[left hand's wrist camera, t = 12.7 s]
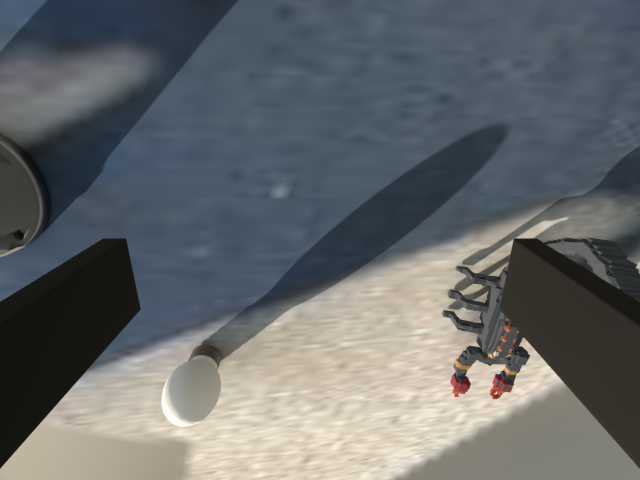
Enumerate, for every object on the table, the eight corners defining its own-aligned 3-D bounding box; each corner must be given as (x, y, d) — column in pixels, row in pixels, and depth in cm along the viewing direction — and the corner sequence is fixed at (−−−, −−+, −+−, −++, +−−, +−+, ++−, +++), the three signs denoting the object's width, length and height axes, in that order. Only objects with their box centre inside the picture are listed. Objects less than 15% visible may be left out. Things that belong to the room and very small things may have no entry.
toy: (583, 213, 43) (756, 283, 26) (511, 384, 53) (604, 519, 35) (477, 198, 43) (583, 260, 25) (423, 374, 52) (474, 507, 35)
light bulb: (175, 359, 51) (139, 423, 41) (199, 327, 49) (167, 386, 39) (215, 382, 52) (190, 449, 42) (240, 352, 50) (220, 415, 40)
